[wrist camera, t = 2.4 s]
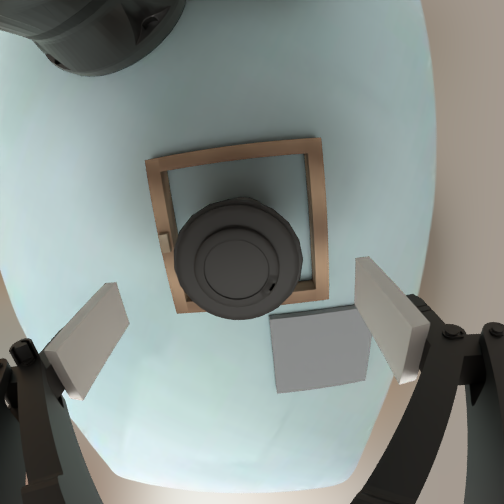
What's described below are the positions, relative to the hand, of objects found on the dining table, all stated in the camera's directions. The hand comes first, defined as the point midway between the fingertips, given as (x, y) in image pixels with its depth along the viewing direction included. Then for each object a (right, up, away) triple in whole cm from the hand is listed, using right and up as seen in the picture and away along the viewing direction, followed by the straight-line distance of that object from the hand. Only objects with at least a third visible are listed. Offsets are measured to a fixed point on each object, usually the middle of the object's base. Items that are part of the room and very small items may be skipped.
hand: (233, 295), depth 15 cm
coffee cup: (0, +5, +11) cm, 12 cm away
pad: (+9, -9, +16) cm, 20 cm away
